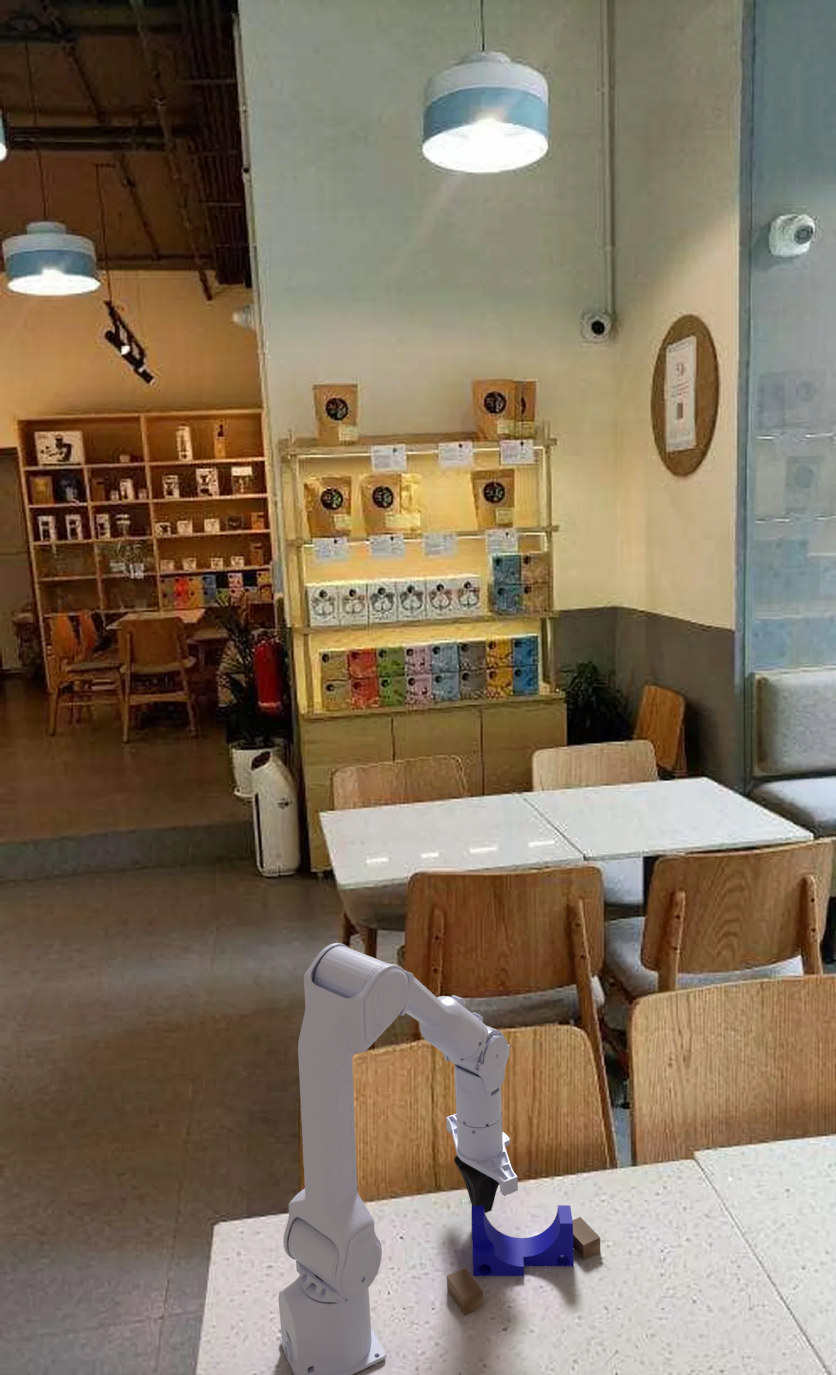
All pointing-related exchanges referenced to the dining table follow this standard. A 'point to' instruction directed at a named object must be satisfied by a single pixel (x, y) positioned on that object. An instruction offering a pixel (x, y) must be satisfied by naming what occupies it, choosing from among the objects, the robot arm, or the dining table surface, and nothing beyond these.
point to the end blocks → (472, 1295)
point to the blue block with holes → (520, 1246)
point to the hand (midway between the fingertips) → (482, 1209)
